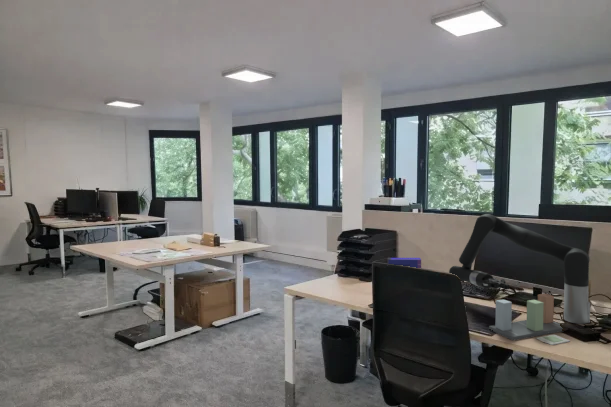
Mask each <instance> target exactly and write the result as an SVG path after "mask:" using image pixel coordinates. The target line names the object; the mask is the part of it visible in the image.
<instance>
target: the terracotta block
mask: <svg viewBox="0 0 611 407" xmlns="http://www.w3.org/2000/svg"><path fill="white" fill-rule="evenodd" d="M554 298H555V296H554V295H551V294H548V293H540V294H537V301H540V302H543V303H544V305H543V323H552V322H553V321H554V316H555V315H554V306H555V300H554Z"/></svg>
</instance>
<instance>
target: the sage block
mask: <svg viewBox="0 0 611 407" xmlns="http://www.w3.org/2000/svg"><path fill="white" fill-rule="evenodd" d="M543 305H544V303H543V302H540V301H538V299H531V300H530V299H529V300H527V301H526V320H527V328H528V329H531V330H533V331H540V330H543Z"/></svg>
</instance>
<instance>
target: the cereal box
mask: <svg viewBox="0 0 611 407" xmlns="http://www.w3.org/2000/svg"><path fill="white" fill-rule="evenodd" d="M388 264H394V265H403V266H410V267H416V268H421V269H422V258H421V257H387V265H388Z"/></svg>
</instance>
